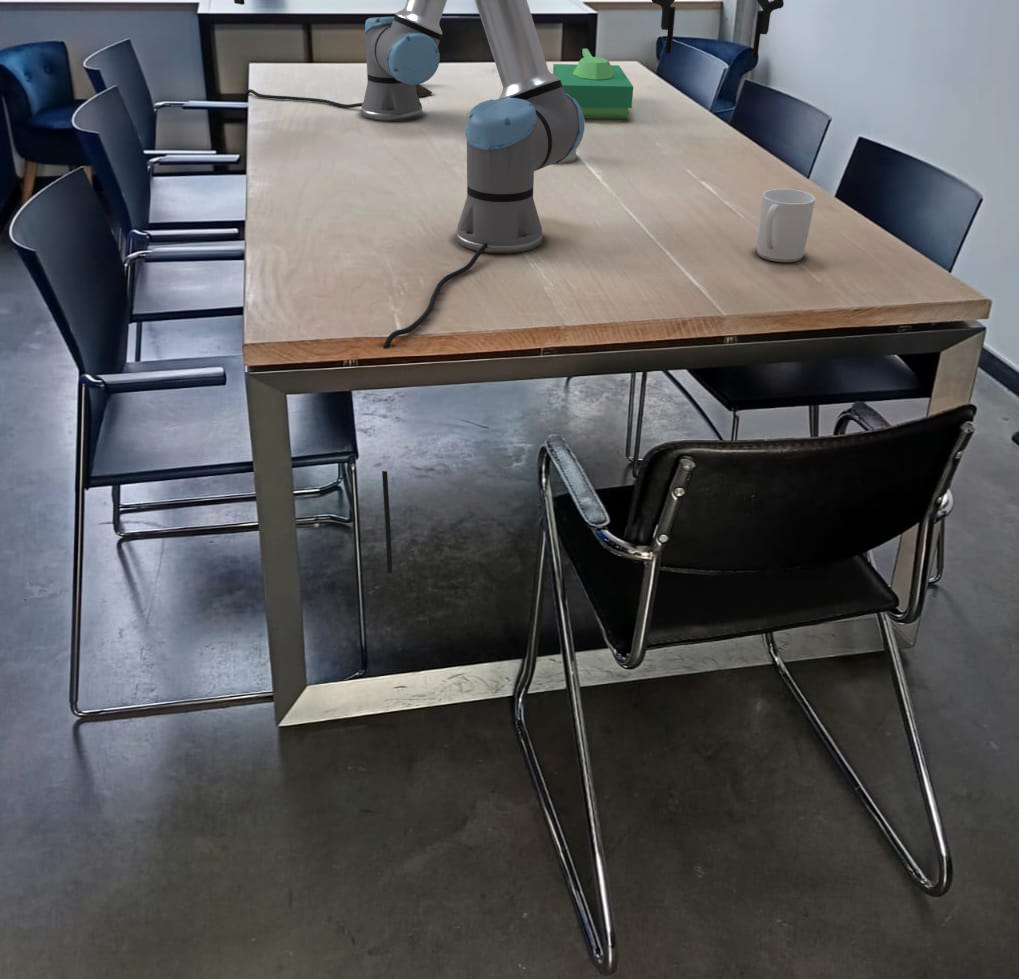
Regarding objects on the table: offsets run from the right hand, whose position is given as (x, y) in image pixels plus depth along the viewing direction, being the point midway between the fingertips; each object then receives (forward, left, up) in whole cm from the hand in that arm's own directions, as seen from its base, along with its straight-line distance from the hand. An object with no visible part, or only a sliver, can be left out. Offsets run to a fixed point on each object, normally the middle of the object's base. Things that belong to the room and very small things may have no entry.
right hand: (711, 54), depth 174 cm
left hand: (+64, +94, -4) cm, 114 cm away
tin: (+60, +29, -33) cm, 74 cm away
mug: (+1, -15, -33) cm, 36 cm away
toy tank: (+112, +25, -33) cm, 120 cm away
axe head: (+120, +76, -33) cm, 146 cm away
